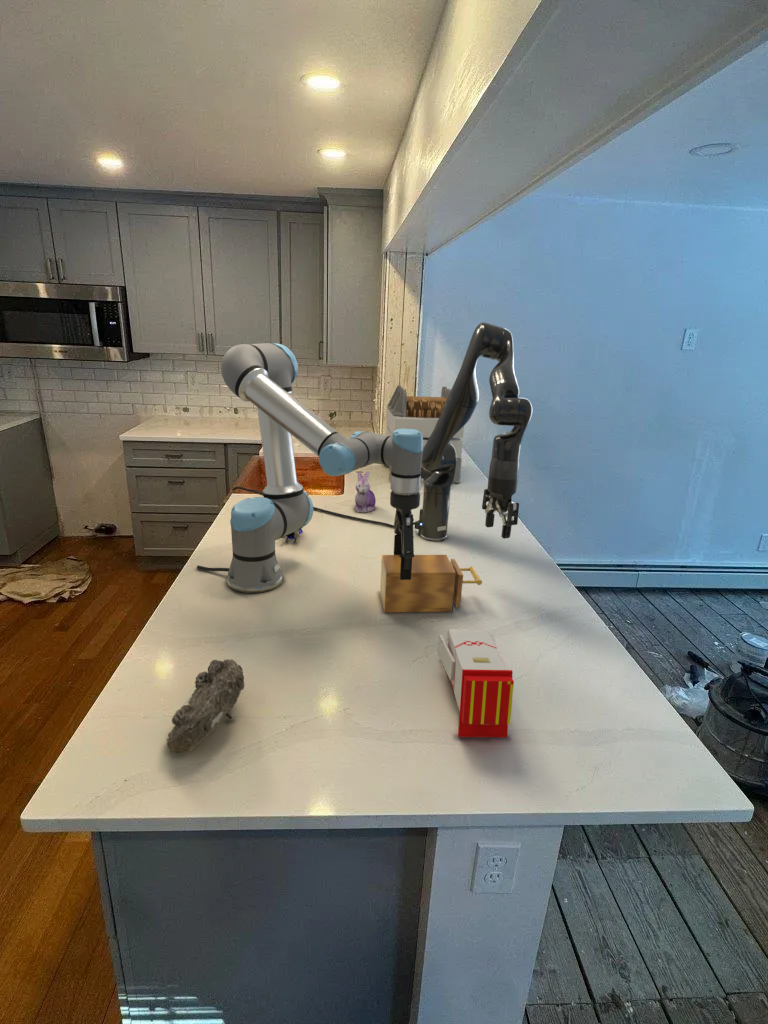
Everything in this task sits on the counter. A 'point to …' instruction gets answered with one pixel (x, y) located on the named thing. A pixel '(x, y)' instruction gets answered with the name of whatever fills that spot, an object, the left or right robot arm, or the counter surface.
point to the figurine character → (293, 535)
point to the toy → (478, 682)
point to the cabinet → (417, 584)
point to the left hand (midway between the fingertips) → (401, 567)
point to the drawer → (459, 581)
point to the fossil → (206, 705)
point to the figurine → (364, 494)
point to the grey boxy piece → (420, 418)
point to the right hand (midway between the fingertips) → (497, 532)
